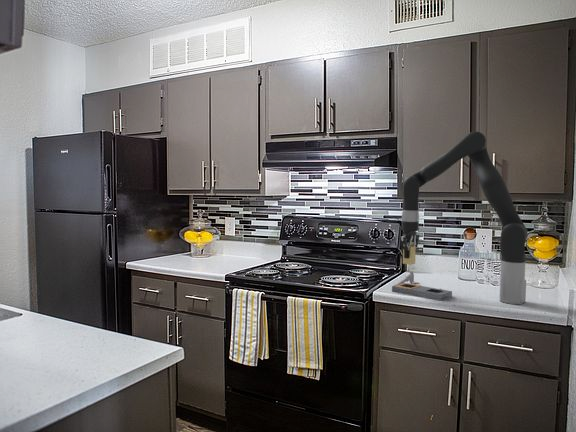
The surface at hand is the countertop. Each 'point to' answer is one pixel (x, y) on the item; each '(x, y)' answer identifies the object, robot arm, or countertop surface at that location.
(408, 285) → the gray fixture base
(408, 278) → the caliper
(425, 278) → the countertop surface
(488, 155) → the robot arm
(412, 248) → the brass block
